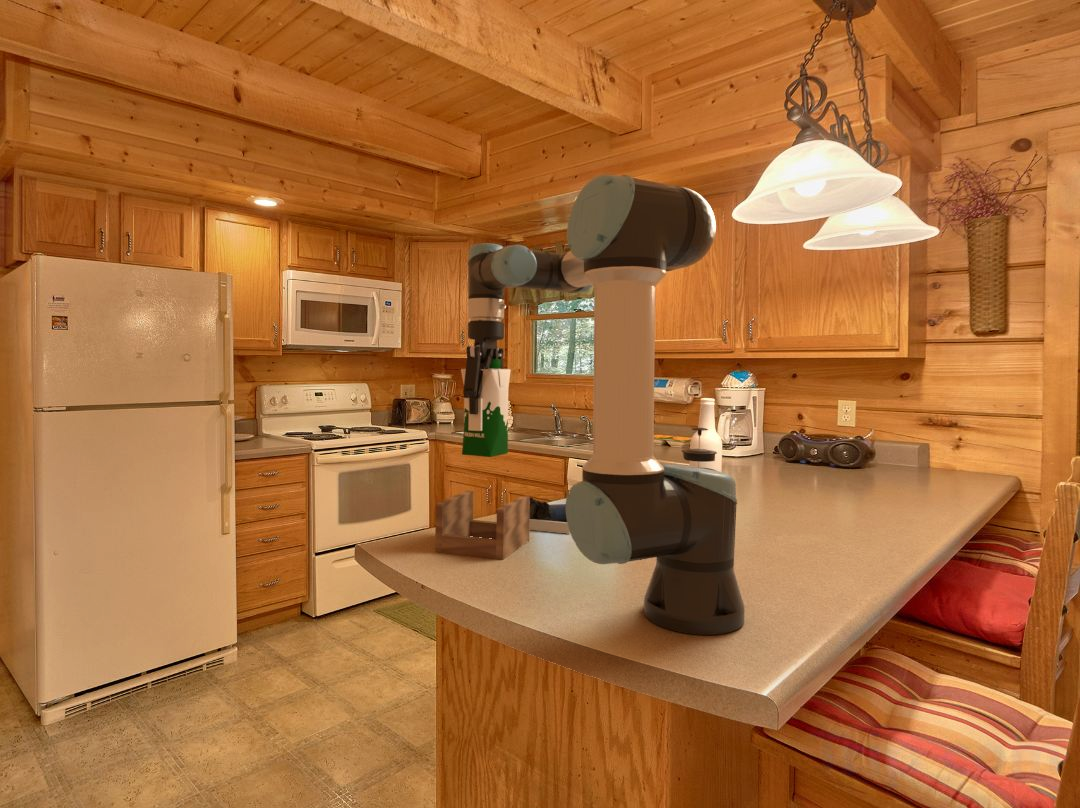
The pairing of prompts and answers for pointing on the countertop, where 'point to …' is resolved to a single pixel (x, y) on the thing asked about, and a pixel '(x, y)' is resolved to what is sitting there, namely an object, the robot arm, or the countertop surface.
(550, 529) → the can cradle
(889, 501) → the countertop surface
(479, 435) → the milk carton
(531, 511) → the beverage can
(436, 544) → the wooden holder
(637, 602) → the countertop surface
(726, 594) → the robot arm
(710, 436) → the alcohol
